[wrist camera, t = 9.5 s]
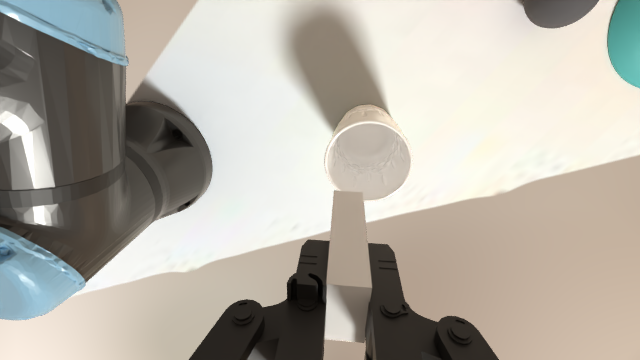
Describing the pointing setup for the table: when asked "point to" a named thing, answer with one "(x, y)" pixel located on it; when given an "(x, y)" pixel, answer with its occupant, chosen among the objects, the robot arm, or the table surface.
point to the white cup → (368, 154)
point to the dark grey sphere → (557, 11)
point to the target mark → (626, 40)
